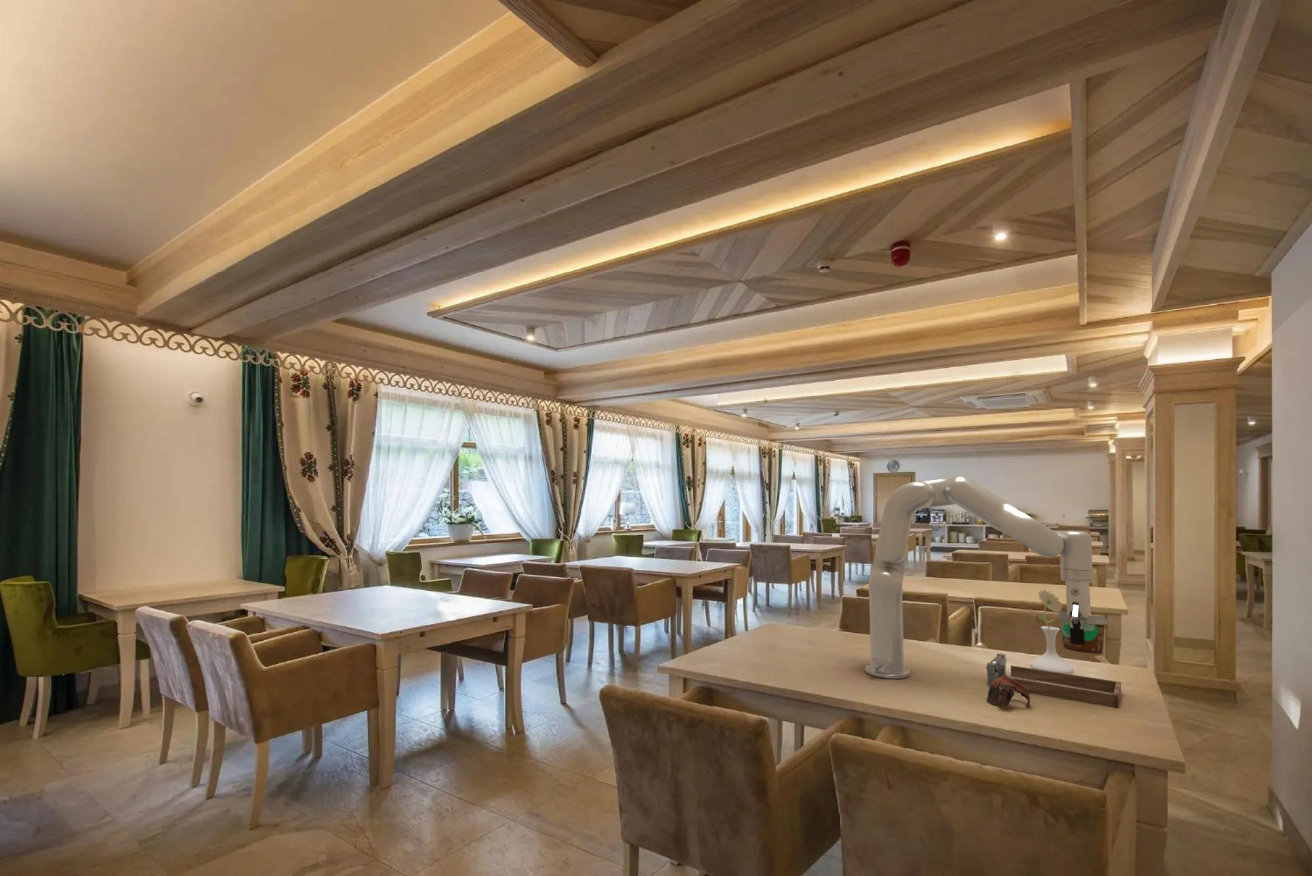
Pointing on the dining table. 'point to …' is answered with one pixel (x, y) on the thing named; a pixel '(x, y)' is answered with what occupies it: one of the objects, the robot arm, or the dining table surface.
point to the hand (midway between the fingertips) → (1078, 641)
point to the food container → (1091, 633)
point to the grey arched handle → (996, 668)
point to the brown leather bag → (1006, 691)
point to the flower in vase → (1051, 639)
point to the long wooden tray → (1069, 680)
